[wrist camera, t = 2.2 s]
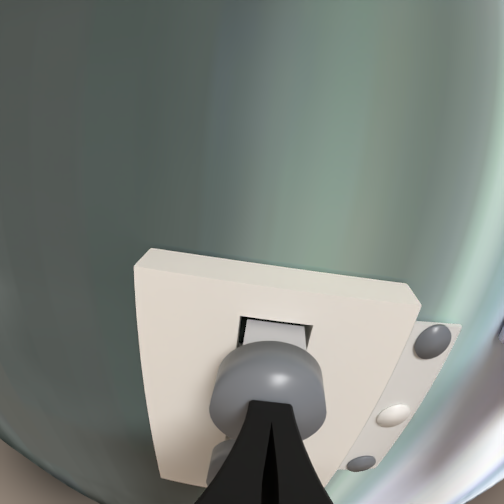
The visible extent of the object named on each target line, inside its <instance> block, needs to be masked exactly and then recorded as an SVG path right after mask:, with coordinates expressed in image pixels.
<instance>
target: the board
mask: <svg viewBox="0 0 504 504" xmlns="http://www.w3.org/2000/svg"><path fill="white" fill-rule="evenodd" d="M134 281H135V299H136V313H137V326H138V337H139V347H140V356H141V365H142V373H143V381H144V388H145V395H146V402H147V408H148V414H149V420H150V426H151V432H152V437H153V443H154V448H155V453H156V458H157V462H158V467H159V472H160V476H161V478H164V479H168V480H172V481H177V482H181V483H186V484H191V485H196V486H201V487H206V488H207V487H208V486H207V484H206V479H207V474H208V469H209V465H210V460H211V455H212V450H213V448H214V447H215V446H216V445H217V444H219V443H221V442H223V441H226V440H229V439H230V437H228V436H227V435H225V434H224V433H222V432H221V431H220V430H219V429H218V428H217V427H216V426H215V424H214V423H213V421H212V419H211V417H210V413H209V406H210V401H211V397H212V393H213V389H214V385H215V381H216V376H217V372H218V369H219V366H220V364H221V362H222V360H223V359H224V358H225V357H226V356H227V355H228V354H229V353H230V352H231V351H233V350H235V349H236V348H238V347H240V346H243V344H242V343H239V335H240V327H241V319H242V316H245V317H252V318H259V319H266V320H273V321H281V322H289V323H297V324H304V329H305V340H306V351H307V352H308V353H309V354H311V355H312V356H313V357H314V358H315V359H316V361H317V362H318V364H319V366H320V368H321V371H322V377H323V385H324V393H325V402H326V411H327V413H326V418H325V421H324V423H323V425H322V426H321V427H320V429H319V430H318V431H317V432H316V433H314V434H313V435H312V436H310V437H309V438H307V439H305V440H303V443H304V446H305V448H306V451H307V453H308V456H309V458H310V460H311V463H312V465H313V467H314V469H315V471H316V473H317V475H318V477H319V479H320V481H321V483H322V485H323V487H324V488H325V486H326V485H327V484H328V482H329V481H330V479H331V478H332V476H333V475H334V473H335V472H336V470H337V469H338V467H339V466H340V464H341V463H342V461H343V460H344V458H345V457H346V455H347V454H348V452H349V450H350V449H351V447H352V446H353V444H354V442H355V441H356V439H357V437H358V436H359V434H360V432H361V431H362V429H363V427H364V425H365V424H366V422H367V420H368V418H369V417H370V415H371V413H372V411H373V409H374V408H375V406H376V404H377V402H378V400H379V398H380V396H381V395H382V393H383V391H384V389H385V387H386V385H387V383H388V381H389V379H390V377H391V375H392V373H393V371H394V369H395V366H396V364H397V362H398V360H399V358H400V356H401V354H402V351H403V349H404V347H405V345H406V342H407V340H408V338H409V335H410V333H411V331H412V328H413V326H414V323H415V321H416V318H417V316H418V313H419V311H420V308H421V306H422V305H421V304H420V302H419V301H418V299H417V298H416V296H415V295H414V293H413V292H412V290H411V289H410V287H409V286H408V285H407V284H406V283H398V282H390V281H383V280H375V279H368V278H360V277H353V276H345V275H338V274H330V273H323V272H316V271H308V270H301V269H294V268H287V267H279V266H272V265H265V264H258V263H251V262H244V261H237V260H230V259H223V258H216V257H209V256H202V255H195V254H189V253H182V252H175V251H168V250H162V249H155V248H150V249H149V250H148V252H147V253H146V254H145V255H144V256H143V257H142V258H141V259H140V260H139V261H138V262H137V263H136V264H135V265H134Z"/></svg>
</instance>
